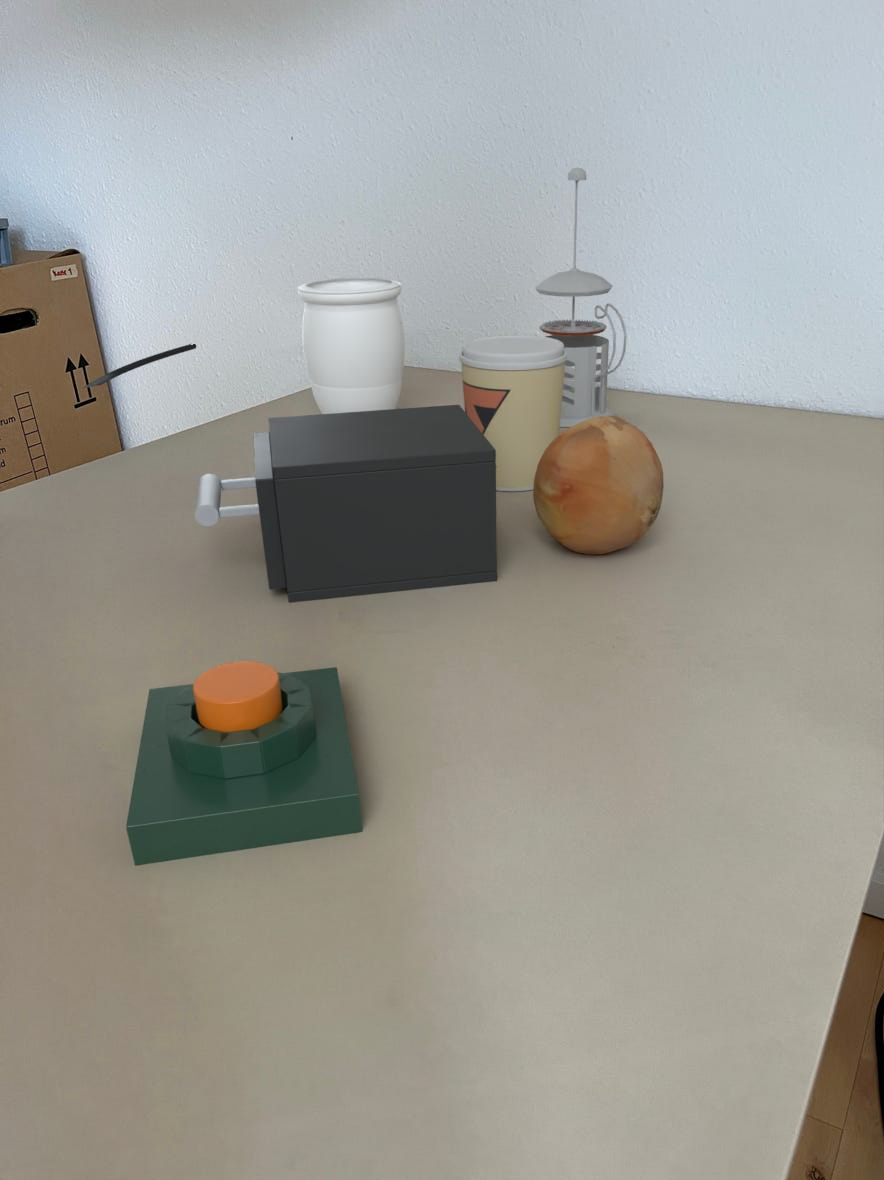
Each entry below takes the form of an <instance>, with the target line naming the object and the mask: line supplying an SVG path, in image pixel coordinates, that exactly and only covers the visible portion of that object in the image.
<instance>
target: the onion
mask: <svg viewBox="0 0 884 1180" xmlns="http://www.w3.org/2000/svg"><path fill="white" fill-rule="evenodd" d="M664 483H665V482H664V469H663V465H662V462H661V460H660V458H659V455H658V453H657V451H656V449H655V447H654V445H653V443H652V442H651V440H650V438H648V437H647V435H646V433H644V432H643V430H641V429H640V428H639V427H637V426H635V425H634V424H632V423H630V422H628V421H626V419H623V418H621V417H619V416H617V415H615V416H598V417H594V418H590V419H588V420H585V421H582V422H580V423H578V424H575V425H574V426H572V427H567V428H566V429H565V430H563V432H561V433H559V435H558V436H557V437H556V438H555V439H554V440H553V441H552V442H551V443H550V444H549V446H548V447H547V448H546V450H545V451H544V453H543V455H542V457H541V459H540V461H539V463H538V466H537V470H536V473H535V478H534V488H533V490H532V491H533V492H532V493H533V494H532V496H533V498H532V499H533V504H534V509H535V512H536V515H537V517H538V519H539V520H540V522H541V524H542V525H543V527H544V528H545V530H546V531H547V532H548V533H549V534H550V535H551V536H552V537H553V538H554V539H555V540H557V542H559V543H560V544H561V545H563V547H565V548H568V549H569V550H571V551H572V552H575V553H578V554H579V553H580V554H585V555H586V556H587V555H590V556H591V555H604V554H608V553H612V552H615V551H618V550H622V549H625V548H627V547H629V546H631V545H633V544H634V543H635V542H637V541H638V540H640V539H641V538H642V537H643V536H644V535H645V534H646V533H647V532H648V530H650V528H651V527H652V526H653V525H654V523H655V522H656V520H657V518H658V515H659V512H660V510H661V507H662V506H661V505H662V502H663V497H664Z"/></svg>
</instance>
